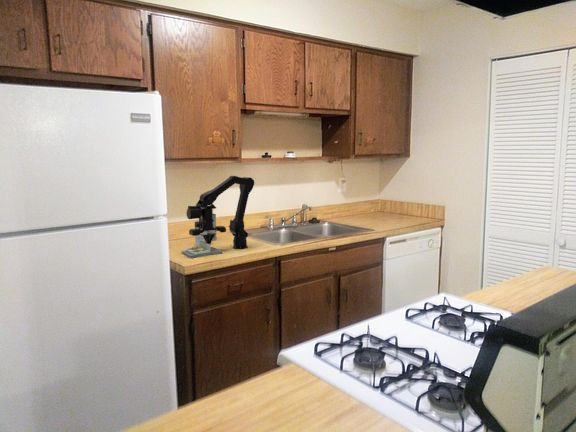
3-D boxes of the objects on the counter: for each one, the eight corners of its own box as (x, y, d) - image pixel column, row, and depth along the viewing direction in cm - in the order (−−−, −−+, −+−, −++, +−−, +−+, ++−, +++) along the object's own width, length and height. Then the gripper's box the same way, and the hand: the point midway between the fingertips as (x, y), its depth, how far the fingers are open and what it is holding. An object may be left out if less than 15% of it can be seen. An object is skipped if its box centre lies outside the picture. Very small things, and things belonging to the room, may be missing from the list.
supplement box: (210, 243, 248) (209, 221, 246) (208, 245, 240) (207, 224, 238) (197, 243, 247) (196, 222, 245) (195, 246, 240) (194, 224, 238)
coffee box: (199, 239, 258) (197, 213, 255) (207, 238, 263) (206, 212, 260) (209, 241, 252) (208, 215, 250) (217, 239, 257) (216, 213, 254)
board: (212, 248, 233) (212, 242, 232) (222, 253, 222) (222, 246, 221) (181, 253, 223) (181, 246, 223) (190, 258, 212) (190, 251, 212)
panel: (201, 248, 229) (201, 240, 228) (210, 252, 219) (210, 244, 218) (185, 250, 224) (185, 243, 223) (193, 254, 214) (193, 247, 213)
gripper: (217, 214, 234) (218, 241, 236) (184, 217, 223) (186, 246, 226) (226, 216, 224) (226, 245, 227) (192, 219, 214) (193, 250, 216)
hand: (208, 246), depth 224 cm, fingers closed
